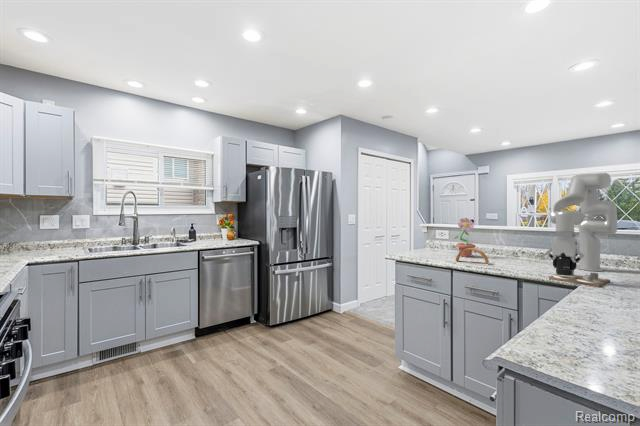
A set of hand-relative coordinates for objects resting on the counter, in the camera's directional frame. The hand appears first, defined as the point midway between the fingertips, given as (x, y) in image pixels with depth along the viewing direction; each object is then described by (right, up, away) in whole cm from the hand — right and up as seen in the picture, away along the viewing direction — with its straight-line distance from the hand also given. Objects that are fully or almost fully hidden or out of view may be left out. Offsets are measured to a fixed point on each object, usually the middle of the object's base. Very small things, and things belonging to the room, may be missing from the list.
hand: (564, 268), depth 159 cm
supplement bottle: (0, -4, 0) cm, 4 cm away
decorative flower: (-16, -5, +77) cm, 78 cm away
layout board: (+6, -6, -2) cm, 9 cm away
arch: (-24, -6, +49) cm, 55 cm away
